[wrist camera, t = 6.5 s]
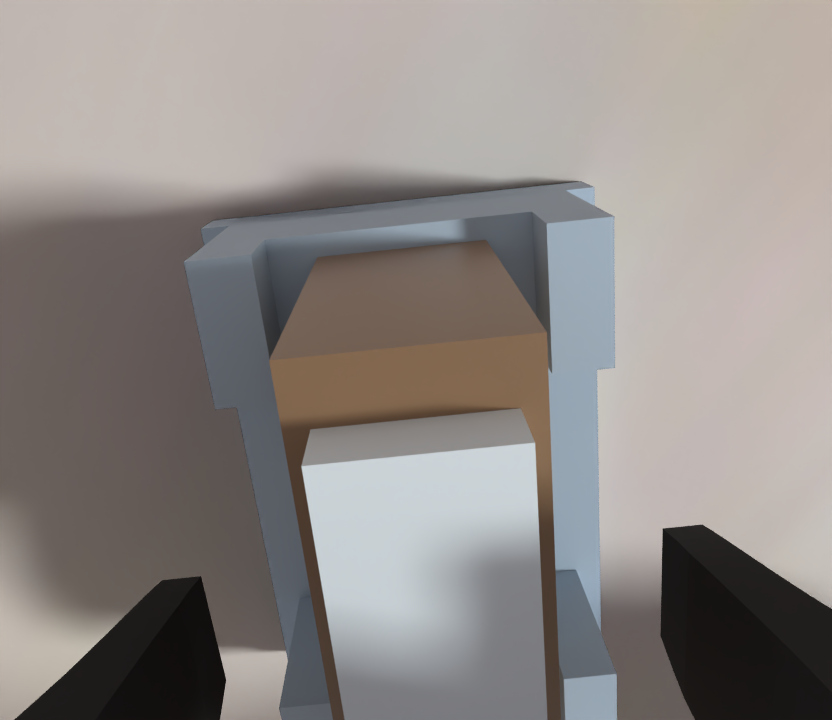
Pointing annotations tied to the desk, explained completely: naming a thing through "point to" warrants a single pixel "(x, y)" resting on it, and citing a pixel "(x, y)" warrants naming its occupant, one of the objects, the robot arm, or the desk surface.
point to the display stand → (567, 369)
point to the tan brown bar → (423, 484)
